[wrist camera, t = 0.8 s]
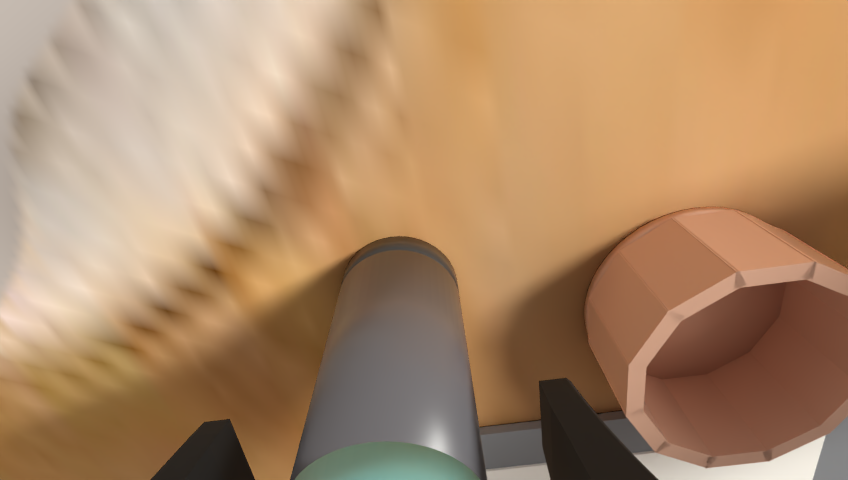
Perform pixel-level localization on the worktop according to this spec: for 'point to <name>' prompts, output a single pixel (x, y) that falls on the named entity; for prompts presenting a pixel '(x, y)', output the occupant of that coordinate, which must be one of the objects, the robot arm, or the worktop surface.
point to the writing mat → (661, 456)
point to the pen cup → (722, 336)
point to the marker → (394, 375)
